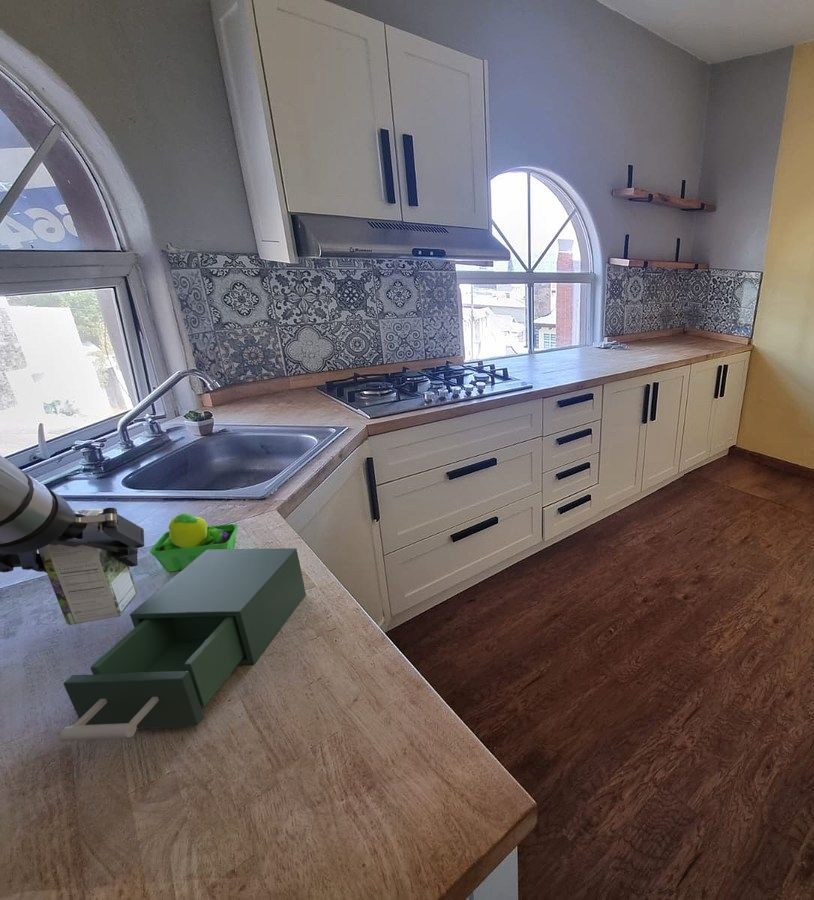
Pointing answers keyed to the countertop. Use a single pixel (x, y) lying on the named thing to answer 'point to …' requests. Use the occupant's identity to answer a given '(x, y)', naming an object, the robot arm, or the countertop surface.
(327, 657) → the countertop surface
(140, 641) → the green drawer
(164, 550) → the fruit basket
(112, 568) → the syrup box
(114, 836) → the countertop surface
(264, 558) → the green drawer cabinet
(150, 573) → the countertop surface
